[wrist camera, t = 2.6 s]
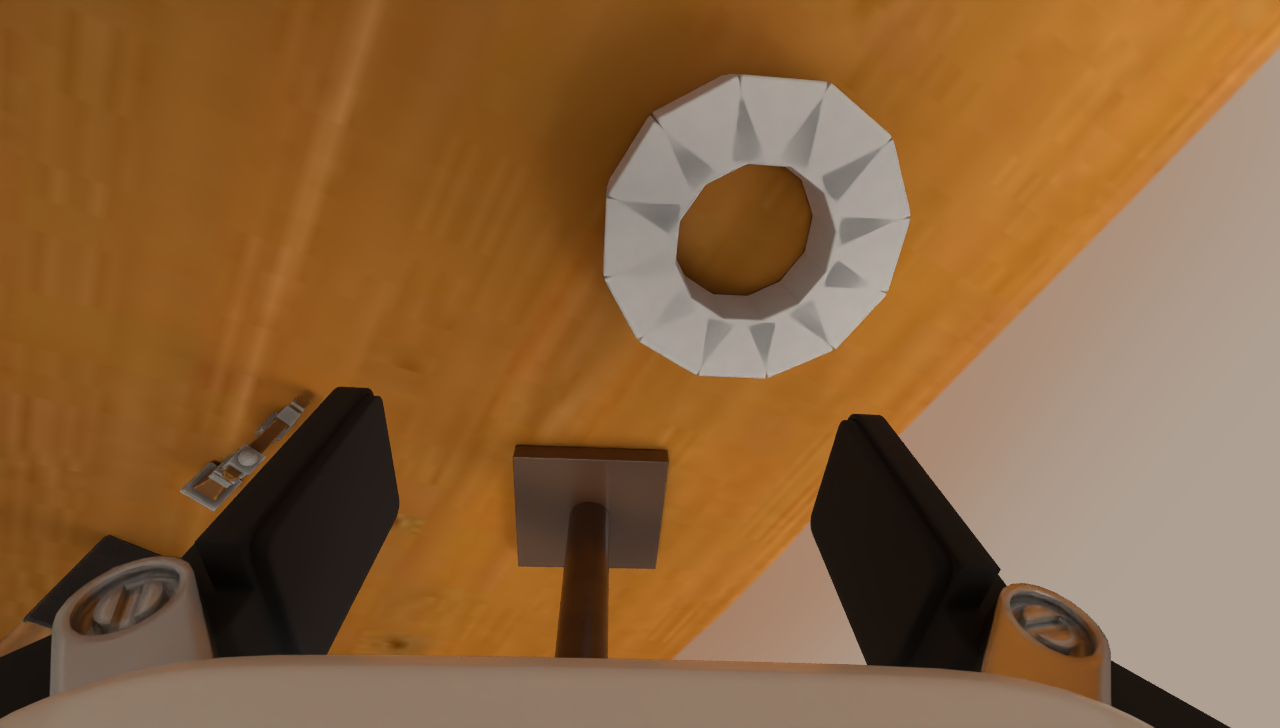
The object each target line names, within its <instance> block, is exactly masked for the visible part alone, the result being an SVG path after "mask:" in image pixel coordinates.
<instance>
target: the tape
mask: <svg viewBox="0 0 1280 728" xmlns="http://www.w3.org/2000/svg"><path fill="white" fill-rule="evenodd" d="M653 117H654V118H653ZM653 117H652V116H649V117H648V118H647V120H646V121H645V123H644V124H643V126H642V128H641V129H640V131H639V132H638V134H637V136H636V137H635V139H634V140H633V142H632V144H631V145H630V147H629V148H628V150H627V152H626V153H625V155H624V157H623V158H622V160H621V161H620V163H619V165H618V166H617V168H616V169H615V171H614V173H613V174H612V176H611V177H610V179H609V184H608V185H607V192H606V211H605V236H604V260H603V276H604V280H605V282H606V284H607V286H608V288H609V289H610V291H611V293H612V295H613V297H614V299H615V300H616V302H617V304H618V306H619V308H620V309H621V311H622V313H623V315H624V317H625V319H626V320H627V322H628V324H629V326H630V328H631V330H632V331H633V333H634V335H635V337H636V338H637V339H639V342H640V343H642V344H644V345H646V346H647V347H649V348H651V349H652V350H654V351H656V352H657V353H659V354H661V355H662V356H664V357H666V358H668V359H669V360H671V361H673V362H674V363H676V364H678V365H679V366H681V367H683V368H684V369H686V370H688V371H690V372H691V373H693V374H695V375H696V374H697V373H698V375H699V376H718V377H741V378H765V376H767V377H771V376H774V375H776V374H778V373H781V372H783V371H786V370H788V369H790V368H793V367H795V366H798V365H800V364H802V363H805V362H807V361H809V360H812V359H814V358H817V357H819V356H821V355H824V354H826V353H828V352H831V351H832V347H833V348H834V349H836V348H837V347H838V346H839V345H840V344H841V343H842V342H843V341H844V340H845V339H846V338H847V337H848V335H849V334H850V333H851V332H852V331H853V330H854V329H855V328H856V327H857V326H858V325H859V324H860V323H861V322H862V321H863V319H864V318H865V317H866V316H867V315H868V314H869V313H870V312H871V311H872V310H873V309H874V308H875V307H876V306H877V304H878V303H879V302H880V301H881V300H882V299H883V298H884V297H885V296H886V293H885V292H883V291H888V290H889V287H890V283H891V280H892V277H893V274H894V270H895V267H896V264H897V261H898V258H899V254H900V251H901V248H902V245H903V241H904V238H905V235H906V232H907V229H908V225H909V222H910V218H908V216H910V215H911V213H910V208H909V204H908V200H907V195H906V191H905V187H904V183H903V178H902V174H901V170H900V165H899V161H898V157H897V152H896V148H895V144H894V140H893V139H890V138H891V137H892V136H891V135H890V134H889V133H888V132H887V131H886V130H885V129H884V128H882V127H881V126H880V125H879V124H878V123H877V122H876V121H874V120H873V119H872V118H871V117H870V116H869V115H868V114H866V113H865V112H864V111H863V110H862V109H861V108H860V107H858V106H857V105H856V104H855V103H854V102H853V101H852V100H851V99H849V98H848V97H847V96H846V95H845V94H844V93H843V92H841V91H840V90H839V89H838V88H837V87H836V86H835V85H833V84H832V83H827V82H826V81H818V80H806V79H794V78H782V77H770V76H758V75H746V74H727V75H721V76H719V77H717V78H715V79H714V80H712V81H710V82H708V83H706V84H704V85H702V86H701V87H699V88H697V89H695V90H693V91H691V92H689V93H687V94H686V95H684V96H682V97H680V98H678V99H676V100H674V101H672V102H671V103H669V104H667V105H665V106H663V107H661V108H659V109H658V110H656V111H654V112H653ZM746 164H754V165H768V166H782V167H786V168H787V169H788V170H790V171H791V172H792V173H793V174H795V175H796V176H797V177H798V178H800V179H801V180H802V183H803V186H804V189H805V192H806V195H807V198H808V202H809V205H810V208H811V211H812V214H813V217H812V222H811V226H810V231H809V235H808V240H807V244H806V249H805V252H804V253H803V254H802V255H801V256H800V258H799V259H798V260H797V261H796V262H795V264H794V265H793V266H792V267H791V268H790V270H789V271H788V272H787V273H786V274H785V276H784V277H783V278H782V279H781V280H780V281H779V282H777V283H775V284H773V285H770V286H768V287H766V288H764V289H761V290H759V291H757V292H755V293H753V294H750V295H748V296H741V295H722V294H712V293H710V292H709V291H707V290H706V289H704V288H703V287H701V286H700V285H698V284H697V283H695V282H694V281H692V280H691V279H689V278H688V277H686V276H685V275H684V274H683V272H682V269H681V267H680V265H679V263H678V261H677V259H676V254H677V244H678V235H679V226H680V220H681V219H682V218H683V216H684V215H685V213H686V212H687V211H688V209H689V208H690V206H691V205H692V203H693V202H694V201H695V199H696V198H697V196H698V195H699V193H700V192H701V191H702V189H703V188H704V186H705V185H706V184H708V183H710V182H712V181H714V180H716V179H718V178H720V177H722V176H724V175H726V174H728V173H730V172H732V171H734V170H736V169H738V168H740V167H742V166H744V165H746Z"/></svg>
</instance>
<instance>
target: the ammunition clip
mask: <svg viewBox="0 0 1280 728" xmlns="http://www.w3.org/2000/svg"><path fill="white" fill-rule="evenodd" d="M158 556H159V555H157V554H154V553H152V552H149V551H146V550H144V549H141V548H139V547H136V546H134V545H131V544H129V543H126V542H124V541H121V540H119V539H116V538H113V537H111V536H106V537H104V538H103V539H102V540H101V541H100V542H99V543H98V544H97V545H96V546H95V547H94V548H93V549H92V550H91V551H90V552H89V553H88V554H87V555H86V556H85V557H84V558H83V559H82V560H81V561H80V562H79V563H78V564H77V565H76V566H75V567H74V568H73V569H72V570H71V571H70V572H69V573H68V574H67V575H66V576H65V577H64V578H63V579H62V580H61V581H60V582H59V583H58V584H57V585H56V586H55V587H54V588H53V589H52V590H51V591H50V592H49V593H48V594H47V595H46V596H45V597H44V598H43V599H42V600H41V601H40V602H39V603H38V604H37V605H36V606H35V607H34V608H33V609H32V610H31V611H30V612H29V613H28V614H27V615H26V616H25V617H24V620H23V621H22V622H21V623H19V624H18V625H17V626H16V627H15V628H14V629H13V630H12V631H11V632H10V633H9V634H8V635H7V636H6V637H5V638H3V639H2V640H1V641H0V657H2V656H4V655H6V654H9V653H11V652H13V651H15V650H18V649H20V648H22V647H24V646H27V645H29V644H31V643H33V642H36V641H38V640H40V639H42V638H45V637H47V636H49V635H51V634H52V626H53V623H54V620H55V616H56V614H57V612H58V611H59V610H60V608H61V607H62V606H63V604H64V603H65V602H66V600H67V599H68V598H70V597H71V596H72V595H73V594H74V593H75V592H76V591H78V590H79V589H80V588H81V587H82V586H83V585H85V584H87V583H88V582H90V581H92V580H93V579H95V578H96V577H98V576H100V575H101V574H103V573H105V572H107V571H109V570H112V569H114V568H116V567H118V566H121V565H123V564H126V563H129V562H133V561H136V560H140V559H143V558H150V557H158Z"/></svg>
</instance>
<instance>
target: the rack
mask: <svg viewBox="0 0 1280 728" xmlns="http://www.w3.org/2000/svg"><path fill="white" fill-rule="evenodd" d="M668 464H669V460H668V453H667V451H666V450H637V449H607V448H577V447H546V446H516V447H515V451H514V455H513V470H514V489H515V509H516V528H517V548H518V566H526V567H564V573H563V583H562V592H561V602H560V612H559V622H558V631H557V641H556V651H555V658H603V659H608V595H609V568H640V569H655V568H656V561H657V553H658V545H659V537H660V529H661V521H662V513H663V505H664V497H665V489H666V480H667V472H668Z"/></svg>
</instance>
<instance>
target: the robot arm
mask: <svg viewBox="0 0 1280 728" xmlns="http://www.w3.org/2000/svg"><path fill="white" fill-rule="evenodd" d="M398 510H399V495H398V489H397V483H396V477H395V472H394V466H393V460H392V454H391V448H390V442H389V436H388V430H387V424H386V418H385V412H384V406H383V402H382V399H381V397H379V396H374V394H373V392H372V391H371V389H369V388H355V387H337V388H336V389H334V390H333V391H332V392H331V393H330V395H329V396H328V397H327V398H326V399H325V400H324V401H323V402H322V403H321V404H320V405H319V407H318V408H317V409H316V410H315V411H314V412H313V413H312V414H311V415H310V416H309V418H308V419H307V420H306V421H305V422H304V423H303V424H302V425H301V426H300V427H299V428H298V430H297V431H296V432H295V433H294V434H293V435H292V436H291V437H290V438H289V439H288V441H287V442H286V443H285V444H284V445H283V446H282V447H281V448H280V449H279V450H278V451H277V453H276V454H275V455H274V456H273V457H272V458H271V459H270V460H269V461H268V462H267V463H266V465H265V466H264V467H263V468H262V469H261V470H260V471H259V472H258V473H257V474H256V476H255V477H254V478H253V479H252V480H251V481H250V482H249V483H248V484H247V485H246V486H245V488H244V489H243V490H242V491H241V492H240V493H239V494H238V495H237V496H236V497H235V499H234V500H233V501H232V502H231V503H230V504H229V505H228V506H227V507H226V508H225V509H224V511H223V512H222V513H221V514H220V515H219V516H218V517H217V518H216V519H215V520H214V522H213V523H212V524H211V525H210V526H209V527H208V528H207V529H206V530H205V531H204V532H203V534H202V535H201V536H200V537H199V538H198V539H197V540H196V541H195V544H194V545H193V546H192V547H191V548H190V549H189V550H188V551H187V552H186V553H185V555H184V556H183V557H182V558H181V559H180V558H178V557H169V556H158V557H150V558H143V559H140V560H136V561H133V562H129V563H126V564H123V565H121V566H118V567H116V568H114V569H112V570H109V571H107V572H105V573H103V574H101V575H100V576H98V577H96V578H95V579H93V580H92V581H90V582H88V583H87V584H85V585H83V586H82V587H81V588H80V589H79V590H78V591H76V592H75V593H74V594H73V595H72V596H71V597H70V598H68V599H67V600H66V602H65V603H64V604H63V606H62V607H61V608H60V610H59V611H58V612H57V614H56V616H55V620H54V623H53V626H52V634H51V635H49V636H47V637H45V638H42V639H40V640H38V641H36V642H33V643H31V644H29V645H27V646H24V647H22V648H20V649H18V650H15V651H13V652H11V653H9V654H6V655H4V656H2V657H0V728H1230V727H1228V726H1227V725H1224V724H1223V723H1221V722H1220V721H1218V720H1216V719H1214V718H1212V717H1211V716H1209V715H1207V714H1205V713H1204V712H1202V711H1200V710H1198V709H1196V708H1195V707H1193V706H1191V705H1189V704H1187V703H1186V702H1184V701H1182V700H1180V699H1179V698H1177V697H1175V696H1173V695H1171V694H1170V693H1168V692H1166V691H1164V690H1163V689H1161V688H1159V687H1157V686H1155V685H1154V684H1152V683H1150V682H1148V681H1146V680H1145V679H1143V678H1141V677H1139V676H1138V675H1136V674H1134V673H1132V672H1131V671H1129V670H1127V669H1125V668H1123V667H1122V666H1120V665H1118V664H1116V663H1114V662H1113V661H1111V656H1110V655H1111V652H1110V648H1109V644H1108V640H1107V639H1106V637H1105V635H1104V634H1103V632H1102V630H1101V629H1100V627H1099V626H1098V625H1097V624H1096V623H1095V622H1094V621H1093V620H1092V619H1091V618H1090V617H1089V616H1088V614H1086V613H1085V612H1084V611H1083V610H1081V609H1080V608H1079V607H1077V606H1076V605H1075V604H1074V603H1072V602H1071V601H1069V600H1067V599H1065V598H1064V597H1062V596H1060V595H1058V594H1057V593H1055V592H1052V591H1050V590H1047V589H1044V588H1042V587H1039V586H1035V585H1030V584H1025V583H1020V584H1011V585H1009V586H1006V584H1005V583H1004V582H1003V580H1002V579H1001V578H1000V576H999V575H998V573H999V571H1000V568H999V567H998V565H997V564H996V563H995V561H994V560H993V559H992V558H991V556H990V555H989V554H988V552H987V551H986V550H985V549H984V547H983V546H982V545H981V543H980V542H979V541H978V539H977V538H976V537H975V535H974V534H973V533H972V532H971V531H970V529H969V528H968V526H967V525H966V524H965V522H964V521H963V520H962V519H961V517H960V516H959V515H958V513H957V512H956V511H955V510H954V508H953V507H952V506H951V504H950V503H949V502H948V500H947V499H946V498H945V496H944V495H943V494H942V493H941V491H940V490H939V489H938V487H937V486H936V485H935V484H934V482H933V481H932V480H931V479H930V477H929V476H928V474H926V472H925V470H924V469H923V468H922V467H921V465H920V464H919V463H918V461H917V460H916V459H915V457H913V455H912V454H911V452H910V451H909V450H908V448H907V447H906V446H905V444H904V443H903V442H902V441H901V439H900V438H899V437H898V435H897V434H896V433H895V431H894V430H893V429H892V428H891V426H890V425H889V424H888V422H887V421H886V420H885V418H883V417H882V416H880V415H867V414H852V415H851V416H850V417H849V418H848V420H843V421H842V422H841V423H840V425H839V427H838V431H837V434H836V437H835V440H834V444H833V447H832V450H831V453H830V457H829V460H828V463H827V466H826V469H825V473H824V476H823V479H822V482H821V486H820V489H819V492H818V495H817V498H816V502H815V505H814V508H813V511H812V515H811V530H812V534H813V536H814V539H815V541H816V543H817V546H818V548H819V551H820V553H821V555H822V558H823V560H824V563H825V565H826V567H827V570H828V572H829V575H830V577H831V579H832V582H833V584H834V586H835V589H836V591H837V593H838V596H839V598H840V601H841V603H842V606H843V608H844V611H845V613H846V615H847V618H848V620H849V623H850V625H851V627H852V629H853V632H854V634H855V637H856V639H857V642H858V644H859V646H860V649H861V651H862V654H863V656H864V658H865V661H866V663H867V665H849V664H810V663H808V664H807V663H773V662H736V661H734V662H733V661H696V660H695V661H694V660H651V659H603V658H553V657H494V656H429V655H327V653H328V651H329V649H330V647H331V645H332V643H333V641H334V639H335V637H336V635H337V633H338V631H339V629H340V627H341V625H342V623H343V621H344V620H345V618H346V616H347V614H348V612H349V610H350V608H351V606H352V604H353V602H354V600H355V598H356V596H357V594H358V592H359V590H360V588H361V586H362V584H363V582H364V580H365V578H366V576H367V574H368V572H369V570H370V568H371V566H372V564H373V562H374V560H375V559H376V557H377V555H378V553H379V551H380V549H381V547H382V545H383V543H384V541H385V539H386V537H387V535H388V533H389V531H390V529H391V527H392V525H393V523H394V521H395V519H396V517H397V514H398Z"/></svg>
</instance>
